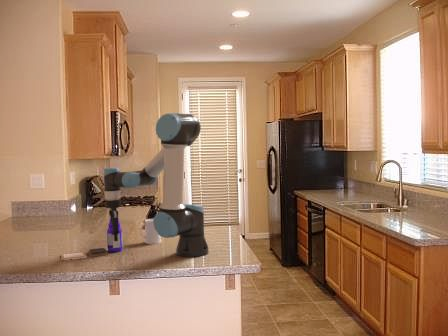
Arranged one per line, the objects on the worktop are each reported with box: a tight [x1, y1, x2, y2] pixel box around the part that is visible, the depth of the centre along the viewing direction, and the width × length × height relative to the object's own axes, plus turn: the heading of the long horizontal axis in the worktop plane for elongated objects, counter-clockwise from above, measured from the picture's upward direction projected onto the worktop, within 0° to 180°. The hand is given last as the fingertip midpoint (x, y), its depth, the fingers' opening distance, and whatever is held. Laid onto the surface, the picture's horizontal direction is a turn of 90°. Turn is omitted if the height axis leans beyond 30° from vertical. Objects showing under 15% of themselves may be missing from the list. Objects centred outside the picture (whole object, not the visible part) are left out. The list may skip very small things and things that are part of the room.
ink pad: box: [87, 247, 108, 258], centre depth 218 cm, size 9×8×2 cm
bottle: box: [106, 215, 124, 253], centre depth 222 cm, size 7×6×17 cm
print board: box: [60, 251, 88, 261], centre depth 214 cm, size 11×11×1 cm
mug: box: [139, 218, 162, 245], centre depth 239 cm, size 12×8×12 cm
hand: (115, 246), depth 223 cm, fingers closed on bottle, 6 cm apart
